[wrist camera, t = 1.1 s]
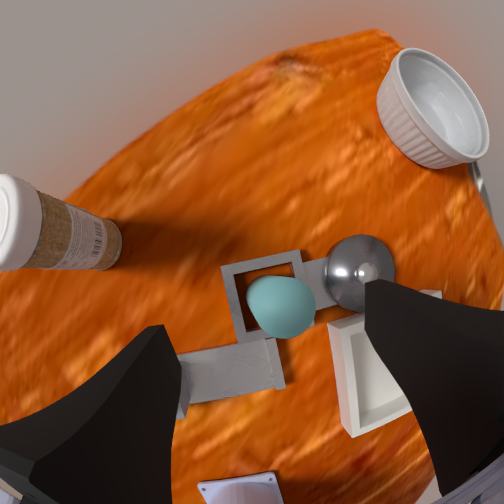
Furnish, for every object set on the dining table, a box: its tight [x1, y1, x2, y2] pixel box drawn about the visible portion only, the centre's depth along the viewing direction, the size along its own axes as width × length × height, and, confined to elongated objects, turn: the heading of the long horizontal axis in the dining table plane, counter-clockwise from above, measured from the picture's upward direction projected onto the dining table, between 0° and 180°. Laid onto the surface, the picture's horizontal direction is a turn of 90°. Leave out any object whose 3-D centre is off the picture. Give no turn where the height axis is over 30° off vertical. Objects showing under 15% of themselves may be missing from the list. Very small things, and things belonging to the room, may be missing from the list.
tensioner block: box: [220, 235, 395, 345], centre depth 21 cm, size 6×14×2 cm, turn 102°
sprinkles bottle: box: [0, 174, 122, 271], centre depth 15 cm, size 5×5×13 cm
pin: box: [246, 275, 316, 339], centre depth 18 cm, size 3×3×8 cm
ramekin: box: [377, 48, 490, 169], centre depth 21 cm, size 13×13×7 cm
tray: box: [327, 289, 442, 438], centre depth 21 cm, size 11×11×3 cm
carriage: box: [176, 374, 190, 419], centre depth 18 cm, size 4×4×4 cm
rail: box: [176, 337, 286, 404], centre depth 21 cm, size 5×15×1 cm, turn 102°
